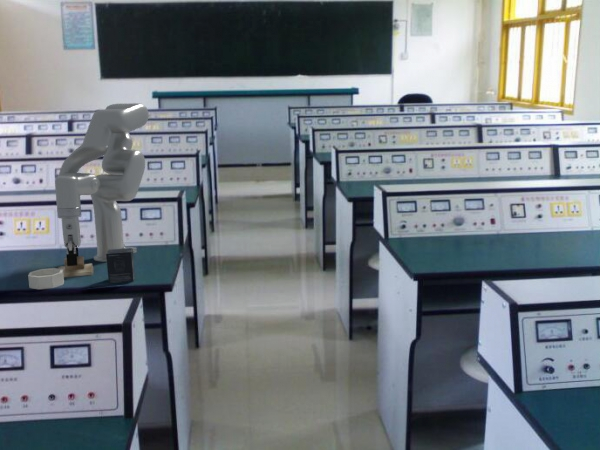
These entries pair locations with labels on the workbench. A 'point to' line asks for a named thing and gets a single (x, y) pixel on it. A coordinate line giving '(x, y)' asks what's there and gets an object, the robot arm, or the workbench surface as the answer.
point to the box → (120, 265)
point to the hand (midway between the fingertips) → (73, 262)
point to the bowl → (46, 278)
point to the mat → (85, 275)
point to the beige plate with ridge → (76, 268)
